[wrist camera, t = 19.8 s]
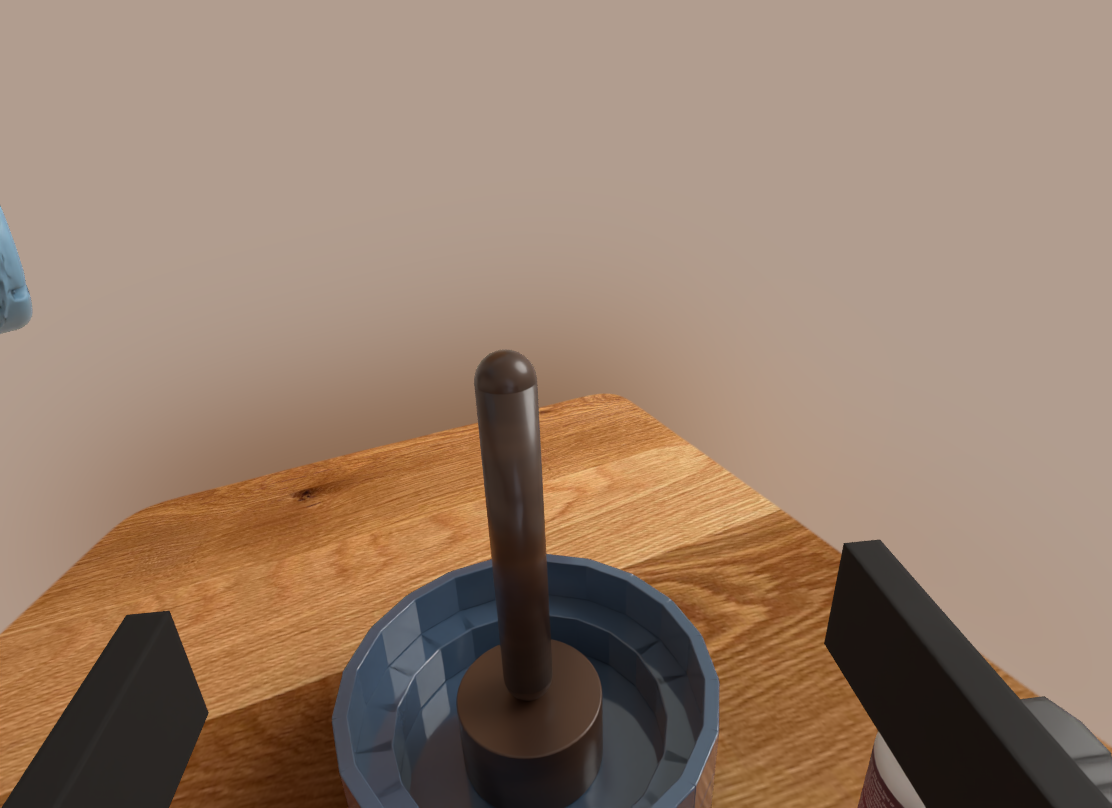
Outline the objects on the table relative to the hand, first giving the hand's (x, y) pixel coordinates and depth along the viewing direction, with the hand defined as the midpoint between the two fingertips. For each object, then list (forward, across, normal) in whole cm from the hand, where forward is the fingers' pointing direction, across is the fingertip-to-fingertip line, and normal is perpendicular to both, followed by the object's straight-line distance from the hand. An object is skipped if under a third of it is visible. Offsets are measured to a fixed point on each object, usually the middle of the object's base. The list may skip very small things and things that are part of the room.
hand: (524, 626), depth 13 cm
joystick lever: (+9, 0, -16) cm, 19 cm away
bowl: (+10, 0, -17) cm, 19 cm away
